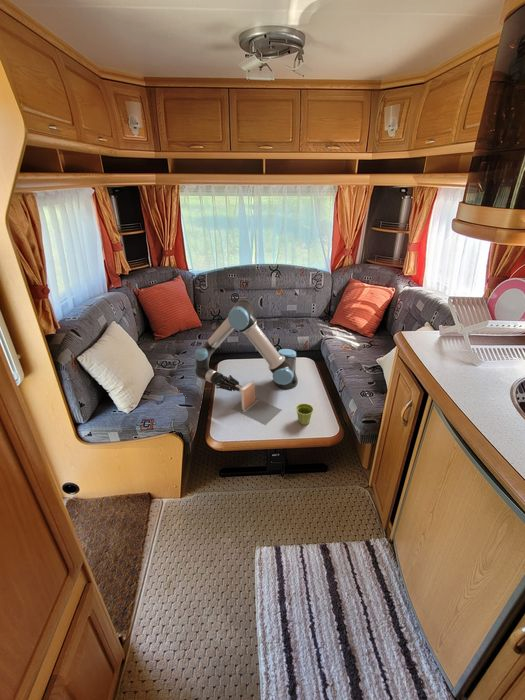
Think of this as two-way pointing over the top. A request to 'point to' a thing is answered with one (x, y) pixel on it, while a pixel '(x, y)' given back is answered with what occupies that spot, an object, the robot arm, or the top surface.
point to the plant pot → (304, 413)
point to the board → (259, 411)
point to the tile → (248, 395)
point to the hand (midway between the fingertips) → (244, 390)
